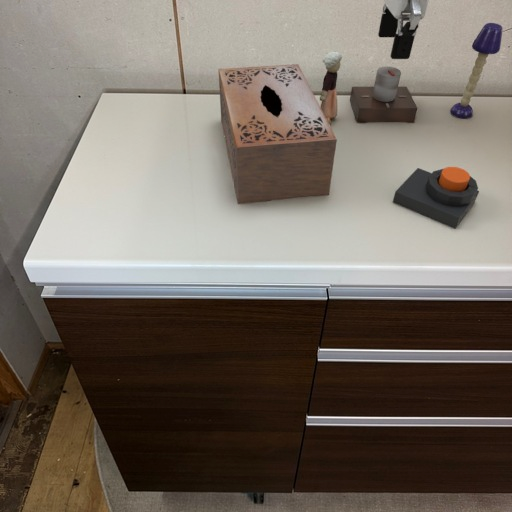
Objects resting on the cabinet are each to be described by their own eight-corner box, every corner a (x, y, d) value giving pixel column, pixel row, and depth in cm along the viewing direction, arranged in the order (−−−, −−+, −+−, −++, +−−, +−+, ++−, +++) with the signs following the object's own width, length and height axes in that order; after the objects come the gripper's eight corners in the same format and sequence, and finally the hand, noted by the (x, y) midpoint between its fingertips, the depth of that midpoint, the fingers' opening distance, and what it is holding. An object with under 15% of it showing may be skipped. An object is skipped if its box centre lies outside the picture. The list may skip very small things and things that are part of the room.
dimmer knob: (369, 92, 93) (374, 65, 89) (390, 90, 93) (396, 63, 89) (377, 103, 89) (382, 75, 86) (399, 101, 90) (405, 73, 86)
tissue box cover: (328, 195, 74) (336, 139, 67) (237, 203, 73) (236, 147, 66) (294, 114, 92) (298, 64, 85) (221, 120, 91) (218, 69, 84)
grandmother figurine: (334, 129, 89) (343, 61, 80) (314, 126, 89) (321, 59, 80) (338, 109, 94) (346, 44, 85) (318, 107, 94) (325, 42, 85)
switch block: (475, 201, 73) (484, 180, 71) (454, 229, 69) (463, 208, 66) (415, 177, 78) (421, 156, 75) (392, 202, 73) (397, 181, 70)
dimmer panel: (403, 100, 97) (406, 85, 94) (414, 122, 90) (418, 107, 88) (349, 100, 97) (352, 85, 94) (356, 122, 90) (359, 107, 88)
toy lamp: (477, 112, 93) (510, 23, 81) (471, 122, 90) (504, 32, 79) (453, 106, 95) (482, 18, 83) (446, 115, 92) (475, 26, 80)
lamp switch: (470, 182, 71) (474, 173, 69) (460, 195, 68) (464, 185, 67) (444, 173, 72) (448, 163, 71) (434, 185, 70) (437, 175, 69)
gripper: (460, -52, 67) (427, 67, 79) (425, -78, 79) (401, 29, 91) (407, -53, 66) (382, 67, 78) (380, -79, 78) (362, 29, 91)
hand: (392, 47), depth 85 cm, fingers open, 9 cm apart
